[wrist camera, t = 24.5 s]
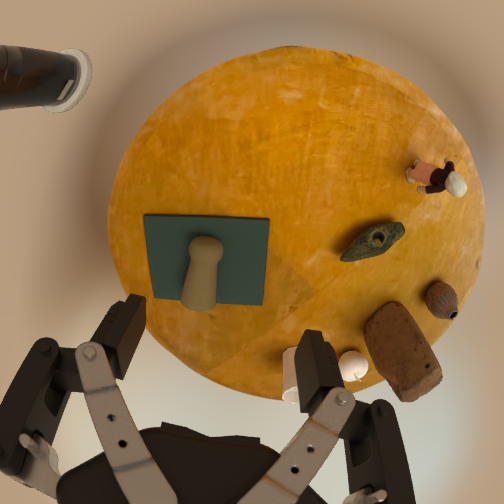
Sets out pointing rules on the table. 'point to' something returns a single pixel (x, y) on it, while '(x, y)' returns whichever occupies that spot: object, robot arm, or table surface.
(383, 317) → the block
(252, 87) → the table surface
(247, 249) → the mat
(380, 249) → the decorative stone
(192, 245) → the cork
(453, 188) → the grandmother figurine
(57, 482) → the robot arm
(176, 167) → the table surface
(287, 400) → the cup
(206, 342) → the table surface
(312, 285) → the table surface
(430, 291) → the vase
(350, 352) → the plain white apple
